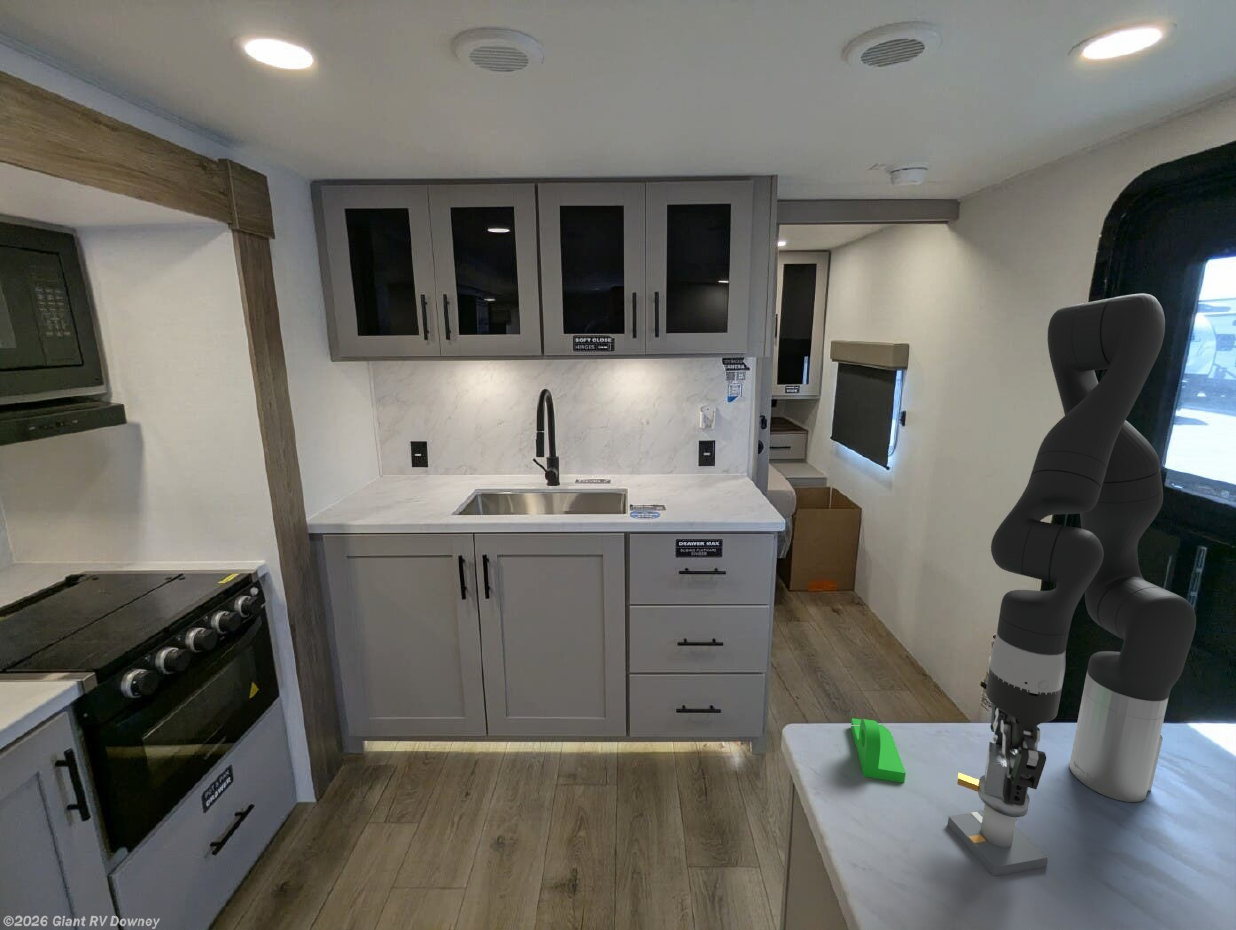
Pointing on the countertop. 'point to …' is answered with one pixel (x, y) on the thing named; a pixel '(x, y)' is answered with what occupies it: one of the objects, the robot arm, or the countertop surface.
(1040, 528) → the robot arm
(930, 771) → the countertop surface
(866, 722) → the mechanical part
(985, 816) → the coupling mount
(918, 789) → the countertop surface
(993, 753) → the collar
